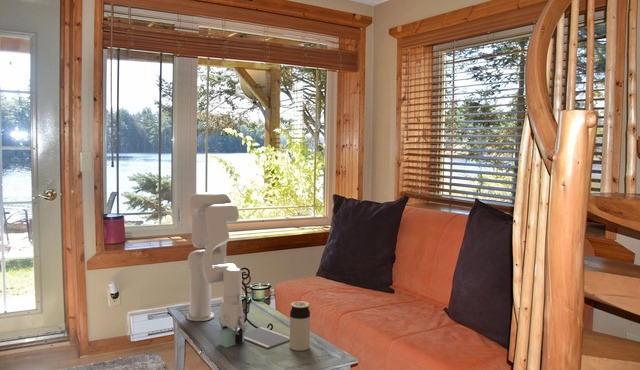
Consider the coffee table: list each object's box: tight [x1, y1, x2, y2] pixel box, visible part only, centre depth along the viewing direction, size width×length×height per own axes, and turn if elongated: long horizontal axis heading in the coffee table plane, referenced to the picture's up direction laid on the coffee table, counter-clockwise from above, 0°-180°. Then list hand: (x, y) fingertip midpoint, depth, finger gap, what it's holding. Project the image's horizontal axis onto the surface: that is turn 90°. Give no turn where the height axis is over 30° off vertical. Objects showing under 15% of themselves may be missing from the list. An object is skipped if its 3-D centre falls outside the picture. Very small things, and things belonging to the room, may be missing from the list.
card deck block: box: [219, 328, 245, 348], centre depth 227 cm, size 4×9×6 cm, turn 137°
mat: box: [244, 326, 290, 350], centre depth 234 cm, size 20×14×1 cm
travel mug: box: [289, 300, 311, 352], centre depth 223 cm, size 8×8×18 cm
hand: (232, 340), depth 227 cm, fingers open, 8 cm apart
